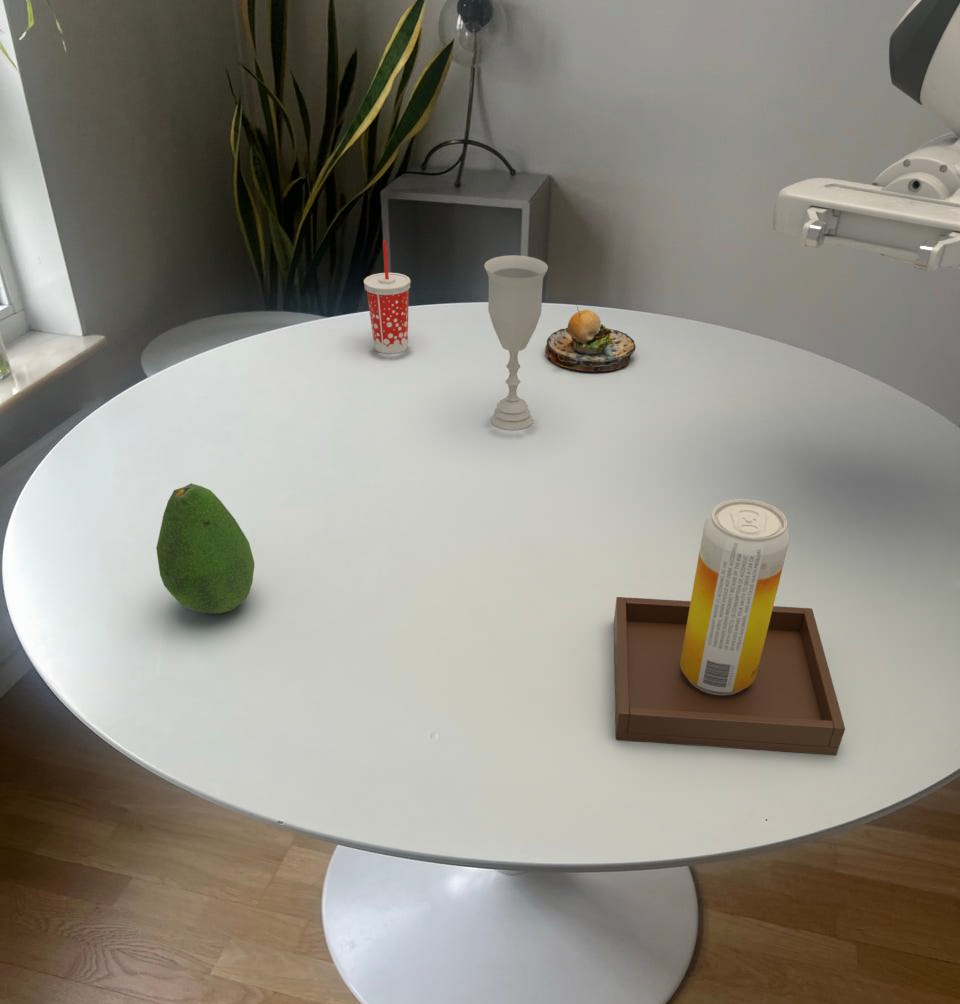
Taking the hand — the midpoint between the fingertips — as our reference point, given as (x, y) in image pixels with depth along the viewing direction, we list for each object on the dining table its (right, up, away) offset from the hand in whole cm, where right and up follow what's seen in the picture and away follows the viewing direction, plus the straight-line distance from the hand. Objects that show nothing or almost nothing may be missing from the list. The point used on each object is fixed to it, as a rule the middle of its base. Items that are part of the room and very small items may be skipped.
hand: (865, 248), depth 77 cm
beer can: (-12, -35, +1) cm, 36 cm away
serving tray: (-12, -35, +1) cm, 37 cm away
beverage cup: (-43, +8, +54) cm, 70 cm away
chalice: (-27, -5, +38) cm, 47 cm away
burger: (-16, +7, +52) cm, 55 cm away
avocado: (-55, -29, +9) cm, 63 cm away
